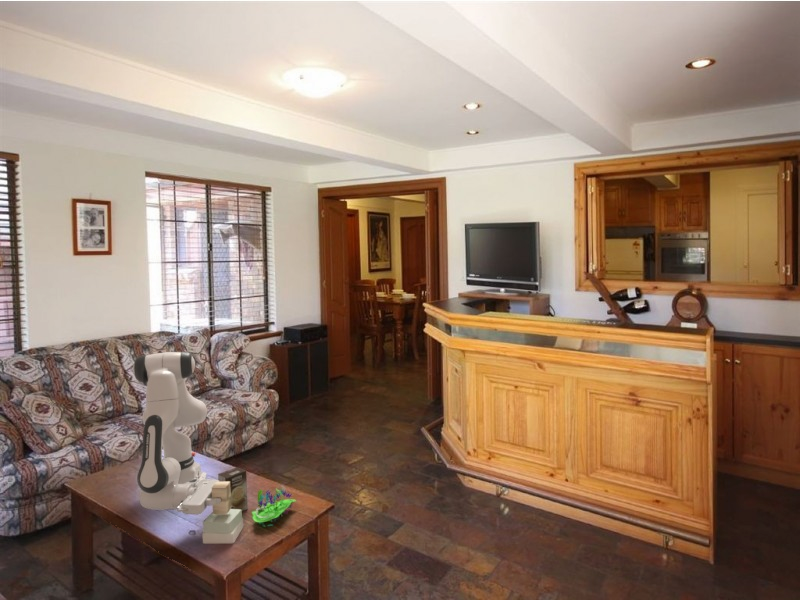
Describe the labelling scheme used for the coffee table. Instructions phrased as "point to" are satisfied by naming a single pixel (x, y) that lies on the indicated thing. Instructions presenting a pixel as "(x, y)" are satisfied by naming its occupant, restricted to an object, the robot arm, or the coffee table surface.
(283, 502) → the diorama
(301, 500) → the coffee table surface
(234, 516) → the top slab
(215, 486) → the birch block
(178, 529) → the coffee table surface
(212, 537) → the bottom slab
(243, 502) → the coffee box
